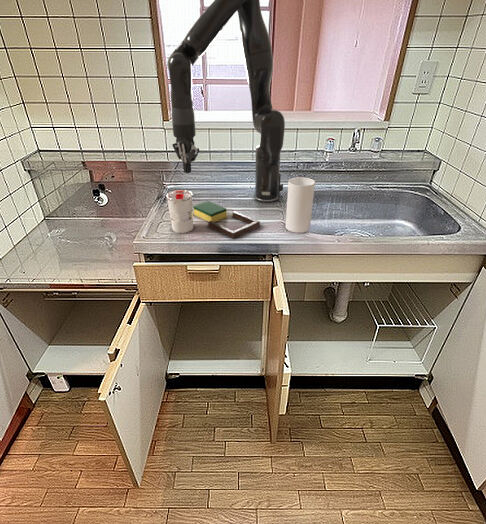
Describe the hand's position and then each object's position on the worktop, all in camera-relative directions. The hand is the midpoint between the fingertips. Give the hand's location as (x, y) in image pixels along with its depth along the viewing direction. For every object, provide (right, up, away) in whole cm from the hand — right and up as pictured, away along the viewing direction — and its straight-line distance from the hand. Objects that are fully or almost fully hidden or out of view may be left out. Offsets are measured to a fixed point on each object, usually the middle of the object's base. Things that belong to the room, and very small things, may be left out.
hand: (187, 172), depth 128 cm
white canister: (0, -21, -8) cm, 23 cm away
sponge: (+8, -16, 0) cm, 18 cm away
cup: (+38, -21, -8) cm, 44 cm away
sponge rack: (+17, -20, -7) cm, 27 cm away
